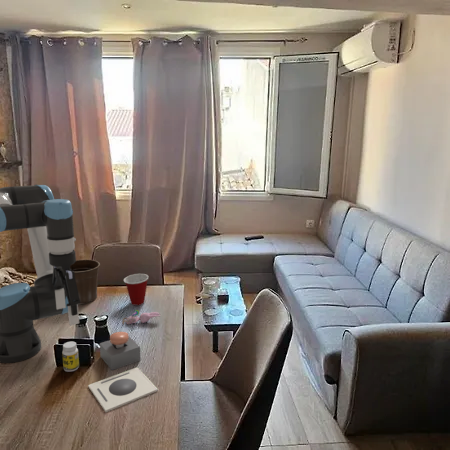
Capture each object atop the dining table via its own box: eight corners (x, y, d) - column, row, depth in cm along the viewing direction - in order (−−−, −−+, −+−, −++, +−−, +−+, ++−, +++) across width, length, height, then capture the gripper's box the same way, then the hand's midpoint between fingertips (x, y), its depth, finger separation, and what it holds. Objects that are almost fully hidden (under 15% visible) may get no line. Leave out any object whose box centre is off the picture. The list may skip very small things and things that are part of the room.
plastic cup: (123, 299, 185) (122, 274, 182) (147, 296, 188) (147, 272, 185) (125, 309, 175) (124, 283, 172) (150, 306, 178) (150, 280, 175)
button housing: (111, 370, 131) (111, 356, 130) (100, 356, 139) (99, 343, 137) (140, 360, 137) (139, 346, 136) (128, 347, 144) (127, 334, 143)
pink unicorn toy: (123, 330, 160) (161, 322, 161) (119, 316, 158) (158, 308, 160) (124, 323, 166) (161, 315, 167) (121, 309, 164) (158, 302, 166)
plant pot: (101, 304, 179) (99, 269, 175) (62, 308, 175) (59, 272, 171) (102, 290, 194) (100, 258, 190) (66, 293, 190) (63, 260, 186)
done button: (114, 357, 133) (114, 342, 132) (107, 349, 137) (107, 335, 136) (132, 351, 136) (131, 337, 135) (124, 343, 141) (124, 330, 140)
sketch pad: (105, 412, 112) (105, 410, 111) (88, 386, 122) (88, 384, 122) (157, 390, 121) (157, 388, 121) (137, 368, 132) (137, 366, 132)
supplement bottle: (60, 371, 130) (58, 347, 128) (68, 363, 134) (66, 340, 133) (74, 372, 129) (72, 348, 127) (81, 364, 134) (80, 341, 132)
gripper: (88, 259, 115) (93, 327, 120) (62, 239, 135) (67, 299, 139) (61, 264, 111) (67, 335, 116) (38, 243, 130) (44, 305, 135)
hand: (67, 315), depth 128 cm, fingers open, 13 cm apart
